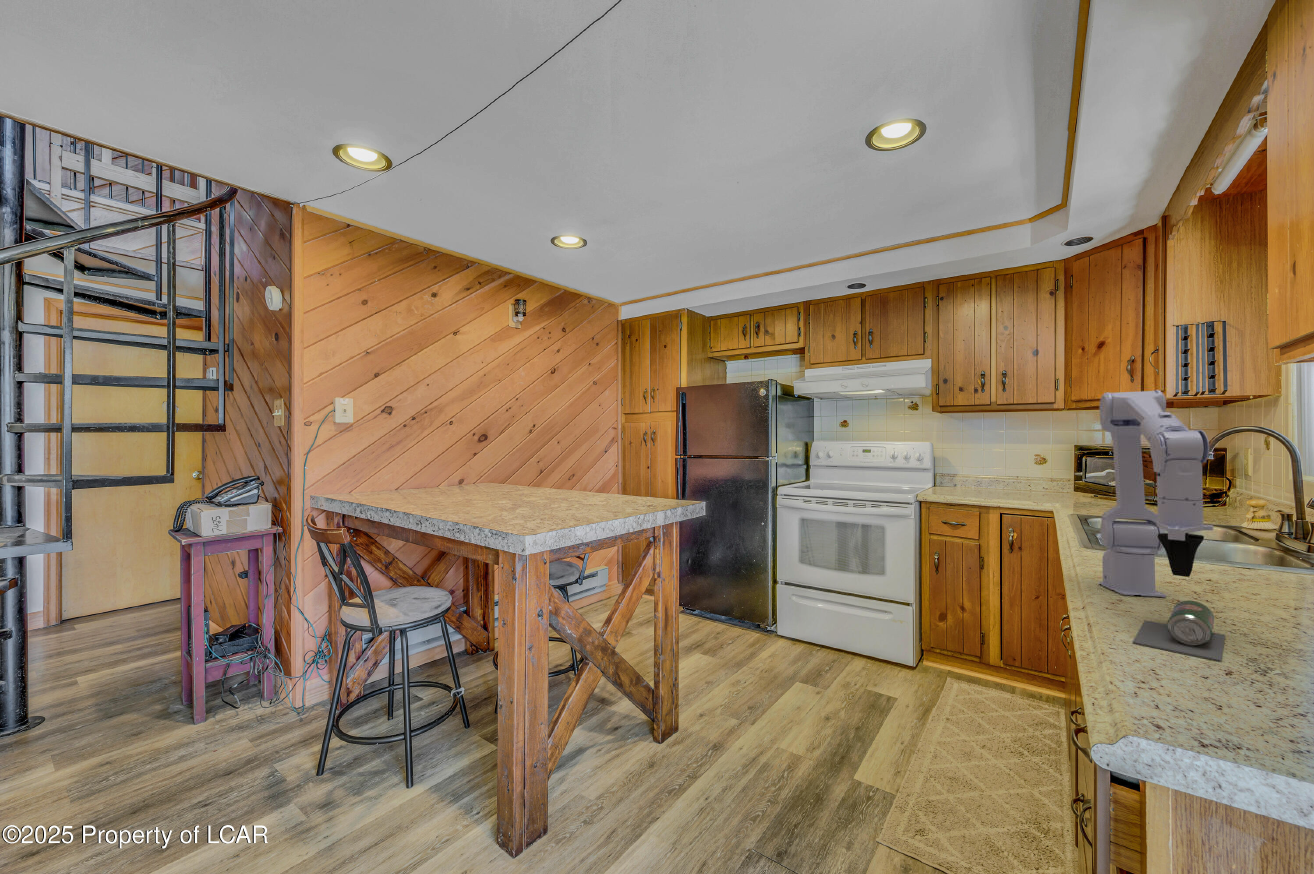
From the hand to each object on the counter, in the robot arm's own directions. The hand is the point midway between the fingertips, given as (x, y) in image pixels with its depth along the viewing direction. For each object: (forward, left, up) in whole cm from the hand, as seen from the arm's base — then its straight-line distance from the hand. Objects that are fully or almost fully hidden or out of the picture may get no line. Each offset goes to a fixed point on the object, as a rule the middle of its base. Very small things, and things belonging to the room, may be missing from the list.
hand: (1181, 575), depth 92 cm
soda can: (0, +2, -7) cm, 7 cm away
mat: (+6, -4, -10) cm, 12 cm away
